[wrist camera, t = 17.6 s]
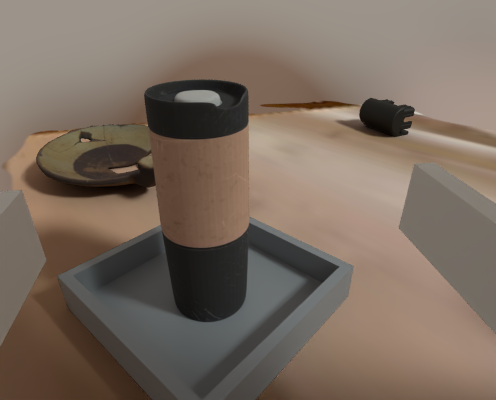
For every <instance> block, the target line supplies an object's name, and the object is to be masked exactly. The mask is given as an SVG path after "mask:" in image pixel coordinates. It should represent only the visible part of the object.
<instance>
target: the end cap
mask: <svg viewBox="0 0 496 400" xmlns="http://www.w3.org/2000/svg"><path fill="white" fill-rule="evenodd" d="M414 111H415V109H414V108H413V107H411V106H407V105H400V106H397V105H394V102H393V101H389V100H377V99H373V98H370V99H368V100H366V101H365V102H364V104H363V105H362V107H361V109H360V114H359V116H360V120H361V121H362V122H363V123H364V124H365V125H366V126H368V127H371V128H373V129H376V130H379V131H381V132H384V133H387V134H389V135H392V136H394V137H398V136H402V135H407V134H408V131H406V130H403V129H408V128H410V127H411V124H412V121H408V122H404V119H405V117H410V116H413V115H414Z"/></svg>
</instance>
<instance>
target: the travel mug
mask: <svg viewBox="0 0 496 400" xmlns="http://www.w3.org/2000/svg"><path fill="white" fill-rule="evenodd" d="M144 97H145V105H146V113H147V121H148V129H149V137H150V144H151V152H152V160H153V168H154V175H155V183H156V191H157V198H158V206H159V214H160V222H161V229H162V235H163V240H164V246H165V251H166V257H167V262H168V268H169V273H170V279H171V285H172V290H173V295H174V300H175V304H176V306H177V308H178V309H179V311H180V312H181V313H182V314H183V315H184V316H186V317H188V318H190V319H192V320H195V321H200V322H215V321H220V320H223V319H226V318H228V317H230V316H232V315H233V314H235V313H236V312H237V311H238V310H239V309H240V308H241V307H242V305H243V303H244V301H245V298H246V291H247V269H248V244H249V124H248V122H249V121H248V90H247V88H246V87H245V86H243V85H241V84H238V83H234V82H229V81H221V80H182V81H173V82H167V83H162V84H158V85H155V86H152V87H150V88H148V89H147V90H146V91H145V95H144Z"/></svg>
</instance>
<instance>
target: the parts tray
mask: <svg viewBox="0 0 496 400" xmlns="http://www.w3.org/2000/svg"><path fill="white" fill-rule="evenodd" d="M353 268H354V266H352V265H350V264H348V263H346V262H344V261H342V260H340V259H338V258H336V257H333V256H331V255H329V254H327V253H325V252H323V251H321V250H319V249H317V248H314V247H312V246H310V245H308V244H306V243H304V242H302V241H300V240H298V239H295V238H293V237H291V236H289V235H287V234H285V233H283V232H281V231H279V230H276V229H274V228H272V227H270V226H268V225H266V224H264V223H262V222H260V221H257V220H255V219H253V218H251V217H249V244H248V269H247V291H246V298H245V301H244V303H243V305H242V307H241V308H240V309H239V310H238V311H237V312H236V313H235V314H233V315H232V316H230V317H228V318H226V319H223V320H220V321H215V322H200V321H195V320H192V319H190V318H188V317H186V316H184V315H183V314H182V313H181V312H180V311H179V309H178V308H177V306H176V304H175V300H174V295H173V290H172V285H171V279H170V273H169V268H168V262H167V257H166V251H165V246H164V240H163V235H162V229H161V225H160V226H157V227H155V228H153V229H151V230H149V231H147V232H145V233H143V234H141V235H139V236H137V237H135V238H133V239H131V240H129V241H127V242H125V243H123V244H121V245H119V246H117V247H115V248H113V249H111V250H109V251H107V252H105V253H103V254H101V255H99V256H97V257H95V258H93V259H91V260H89V261H86V262H84V263H82V264H80V265H78V266H76V267H74V268H72V269H70V270H68V271H66V272H64V273H62V274H60V275H58V276H57V277H58V280H59V283H60V286H61V289H62V292H63V295H64V299H65V302H66V305H67V307H68V308H69V309H70V311H71V312H72V313H73V314H74V315H75V316H76V317H77V318H78V319H79V320H80V321H81V323H82V324H83V325H84V326H85V327H86V328H87V329H88V330H89V331H90V332H91V333H92V335H93V336H94V337H95V338H96V339H97V340H98V341H99V342H100V343H101V344H102V345H103V347H104V348H105V349H106V350H107V351H108V352H109V353H110V354H111V355H112V356H113V358H114V359H115V360H116V361H117V362H118V363H119V364H120V365H121V366H122V367H123V368H124V370H125V371H126V372H127V373H128V374H129V375H130V376H131V377H132V378H133V379H134V380H135V382H136V383H137V384H138V385H139V386H140V387H141V388H142V389H143V390H144V391H145V392H146V394H147V395H148V396H149V397H150V398H151V399H152V400H255V399H256V398H257V397H258V396H259V395H260V394H261V393H262V392H263V391H264V389H265V388H266V387H267V386H268V385H269V384H270V383H271V382H272V380H273V379H274V378H275V377H276V376H277V375H278V374H279V373H280V372H281V370H282V369H283V368H284V367H285V366H286V365H287V364H288V363H289V362H290V360H291V359H292V358H293V357H294V356H295V355H296V354H297V353H298V352H299V350H300V349H301V348H302V347H303V346H304V345H305V344H306V343H307V341H308V340H309V339H310V338H311V337H312V336H313V335H314V334H315V333H316V331H317V330H318V329H319V328H320V327H321V326H322V325H323V324H324V323H325V321H326V320H327V319H328V318H329V317H330V316H331V315H332V314H333V312H334V311H335V310H336V309H337V308H338V307H339V306H340V305H341V304H342V302H343V301H344V300H345V299H346V298H347V297H348V293H349V288H350V283H351V278H352V273H353Z"/></svg>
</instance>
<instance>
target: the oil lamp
mask: <svg viewBox="0 0 496 400" xmlns="http://www.w3.org/2000/svg"><path fill="white" fill-rule="evenodd" d="M81 138H84V139H89V140H90V141H89V142H81ZM150 153H152V152H151V144H150V137H149V129H148V126H145V125H134V124H126V125H103V126H90V127H87V128H83V129H77V130H75V131H73V130H72V131H70V132H68V133H67V134H64V135H62V136H60V137H57V138H56V139H54V140H52V141H50V142H48V143H47V144H46V145H45V146H44V147H43V148H41V149H40V151H39V152H38V154H37V157H36V161H37V164H38V166H39V168H40V169H41V171H42V172H43V173H44V174H45V175H47V176H48V177H50V178H52V179H54V180H57V181H59V182H63V183H68V184H73V185H81V186H93V187H101V186H117V185H126V184H133V183H136V184H139V185H141V186H143V187H152V186H155V185H156V183H155V175H154V168H153V160H152V155H149V154H150ZM148 155H149V156H148ZM137 163H138V168H139V169H138V170H135V171H131V172H126V173H120V174H118V173H115V172H113V171H111V170H109V168H116V167H125V166H130V165H133V164H137Z"/></svg>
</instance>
